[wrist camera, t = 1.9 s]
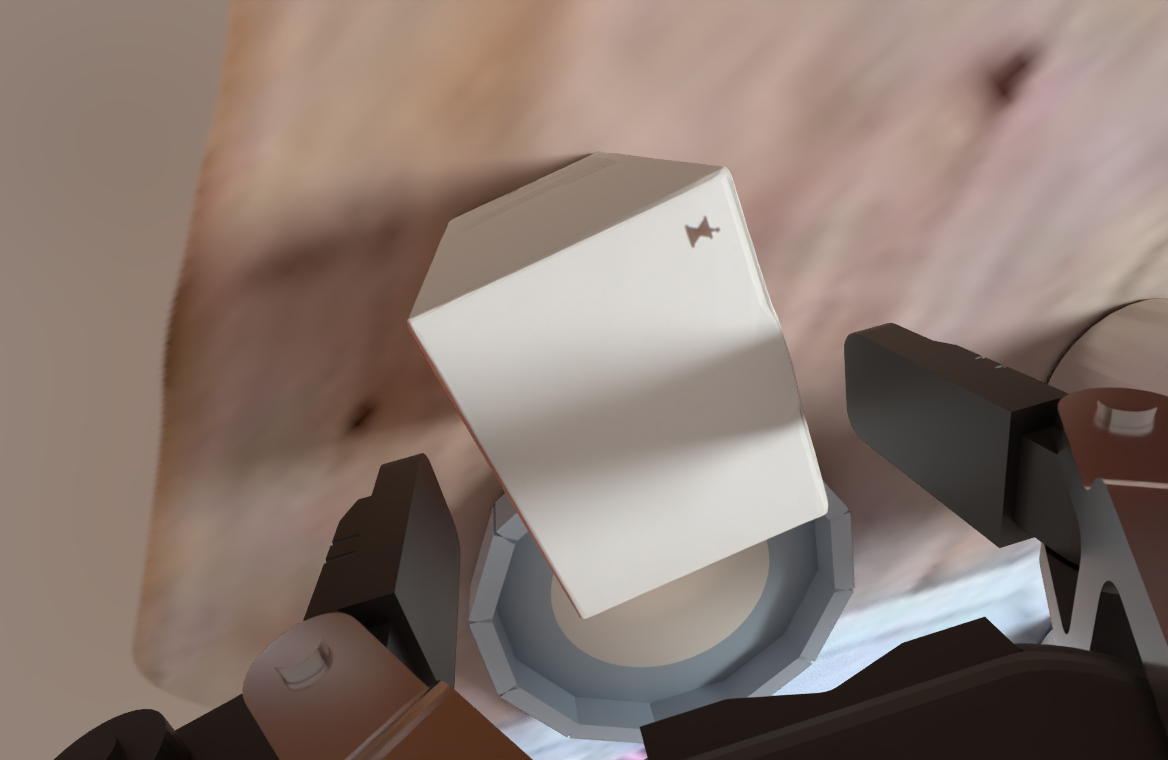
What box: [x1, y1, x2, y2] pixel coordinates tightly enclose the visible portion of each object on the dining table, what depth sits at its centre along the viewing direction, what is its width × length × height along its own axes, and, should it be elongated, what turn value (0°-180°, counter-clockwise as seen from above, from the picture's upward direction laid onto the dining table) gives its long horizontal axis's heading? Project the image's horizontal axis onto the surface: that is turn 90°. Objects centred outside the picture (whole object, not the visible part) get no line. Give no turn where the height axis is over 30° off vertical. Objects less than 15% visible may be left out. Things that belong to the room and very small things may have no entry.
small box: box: [406, 152, 828, 619], centre depth 17 cm, size 8×6×13 cm
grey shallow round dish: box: [469, 481, 855, 743], centre depth 28 cm, size 18×18×2 cm
